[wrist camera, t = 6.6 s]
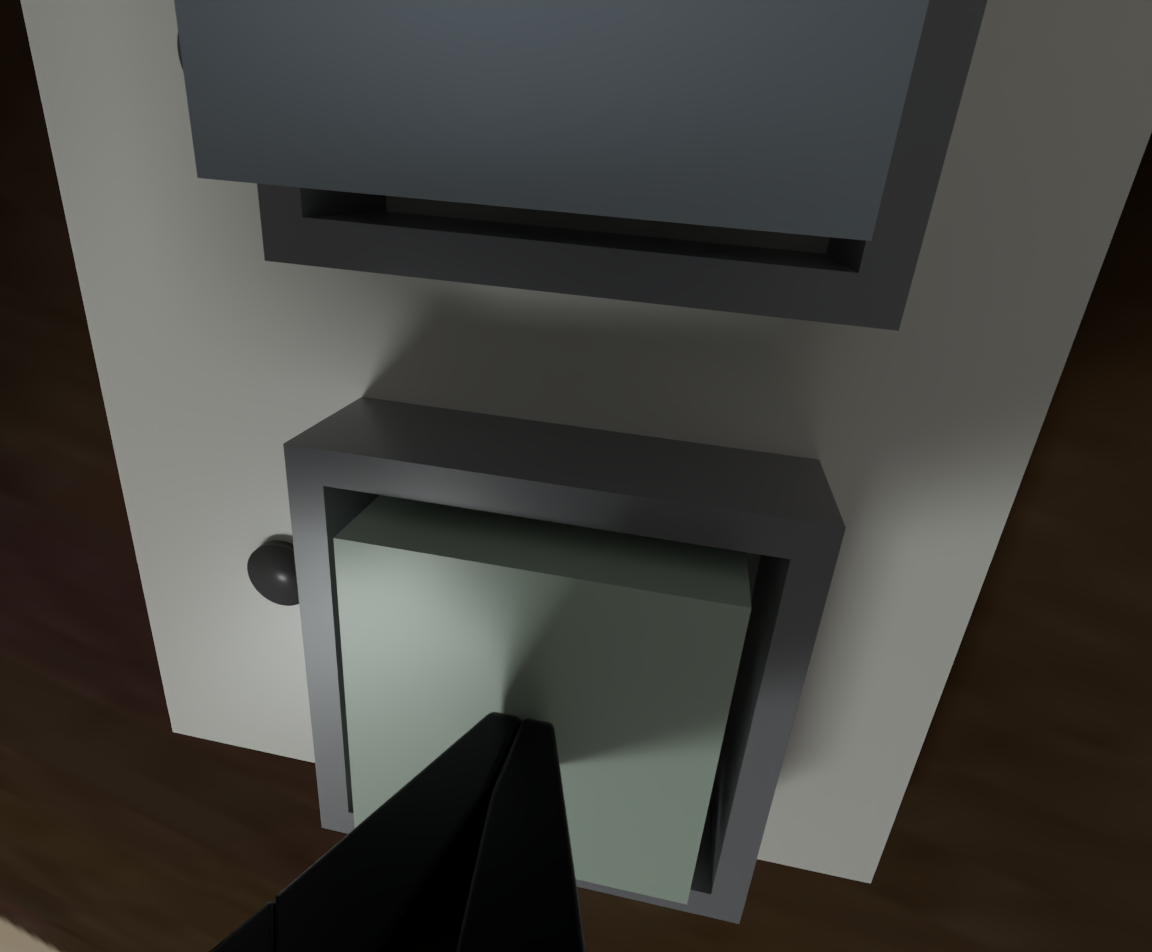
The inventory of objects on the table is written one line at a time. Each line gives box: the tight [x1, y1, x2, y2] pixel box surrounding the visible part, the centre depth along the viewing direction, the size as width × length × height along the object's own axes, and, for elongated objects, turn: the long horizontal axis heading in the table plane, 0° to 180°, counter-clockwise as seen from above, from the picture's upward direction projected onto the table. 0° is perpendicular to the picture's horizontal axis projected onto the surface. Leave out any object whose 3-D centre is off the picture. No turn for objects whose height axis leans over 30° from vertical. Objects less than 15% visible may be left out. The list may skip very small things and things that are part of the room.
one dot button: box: [333, 495, 751, 905], centre depth 10 cm, size 5×5×2 cm
